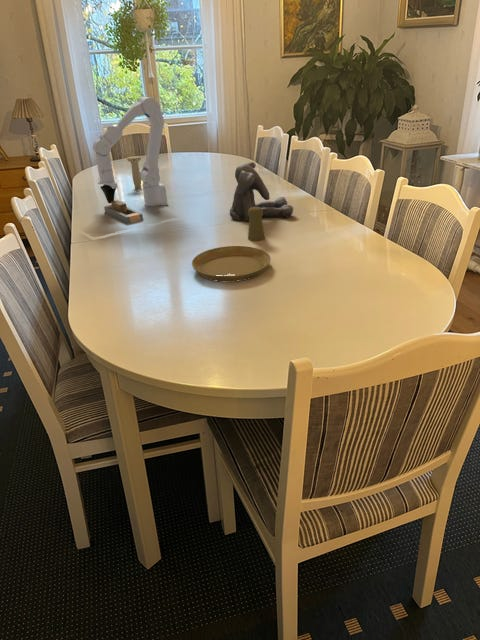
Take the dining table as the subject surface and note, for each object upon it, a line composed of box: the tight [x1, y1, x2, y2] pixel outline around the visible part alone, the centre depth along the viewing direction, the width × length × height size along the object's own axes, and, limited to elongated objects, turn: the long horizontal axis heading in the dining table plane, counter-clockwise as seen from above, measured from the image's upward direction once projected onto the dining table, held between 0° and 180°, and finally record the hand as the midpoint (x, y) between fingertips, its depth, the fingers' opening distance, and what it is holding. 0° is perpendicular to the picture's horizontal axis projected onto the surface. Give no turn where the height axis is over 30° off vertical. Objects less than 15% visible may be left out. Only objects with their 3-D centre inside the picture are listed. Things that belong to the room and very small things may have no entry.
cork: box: [247, 207, 266, 242], centre depth 181 cm, size 6×6×11 cm
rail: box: [103, 204, 145, 225], centre depth 212 cm, size 8×22×4 cm, turn 36°
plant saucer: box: [191, 245, 272, 282], centre depth 159 cm, size 24×24×3 cm
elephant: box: [229, 161, 294, 223], centre depth 203 cm, size 21×25×21 cm
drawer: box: [110, 199, 128, 215], centre depth 214 cm, size 3×8×5 cm, turn 37°
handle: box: [127, 155, 142, 190], centre depth 255 cm, size 5×6×15 cm
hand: (111, 202), depth 219 cm, fingers closed
